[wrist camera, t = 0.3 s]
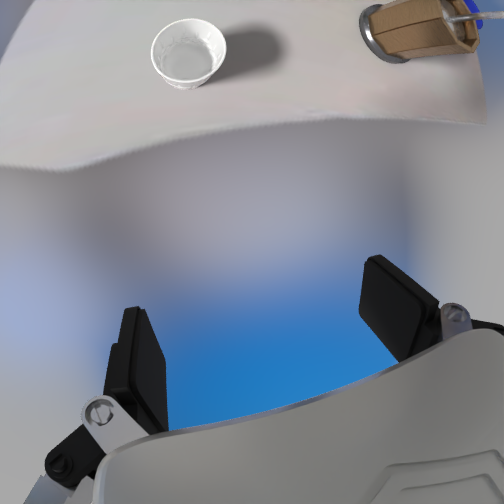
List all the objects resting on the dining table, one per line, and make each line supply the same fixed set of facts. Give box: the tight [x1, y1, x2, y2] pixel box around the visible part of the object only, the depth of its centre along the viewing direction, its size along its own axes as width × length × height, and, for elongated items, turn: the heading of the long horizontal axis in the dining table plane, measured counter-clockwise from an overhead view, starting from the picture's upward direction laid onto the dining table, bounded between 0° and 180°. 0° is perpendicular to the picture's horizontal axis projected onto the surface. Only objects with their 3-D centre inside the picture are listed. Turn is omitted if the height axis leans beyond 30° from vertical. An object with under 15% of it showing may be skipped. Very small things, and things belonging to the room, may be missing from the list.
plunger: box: [440, 0, 504, 42], centre depth 12 cm, size 8×8×19 cm
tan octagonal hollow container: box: [359, 0, 480, 64], centre depth 26 cm, size 12×14×18 cm
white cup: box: [151, 19, 227, 90], centre depth 27 cm, size 8×8×10 cm
